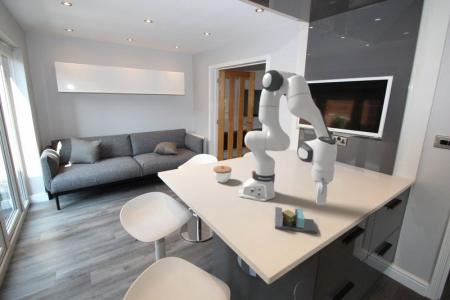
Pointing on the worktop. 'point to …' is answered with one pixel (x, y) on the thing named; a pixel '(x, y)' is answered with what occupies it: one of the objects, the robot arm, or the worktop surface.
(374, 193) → the worktop surface
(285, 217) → the tan short block
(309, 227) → the press bed
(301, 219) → the block
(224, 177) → the lidded bowl
